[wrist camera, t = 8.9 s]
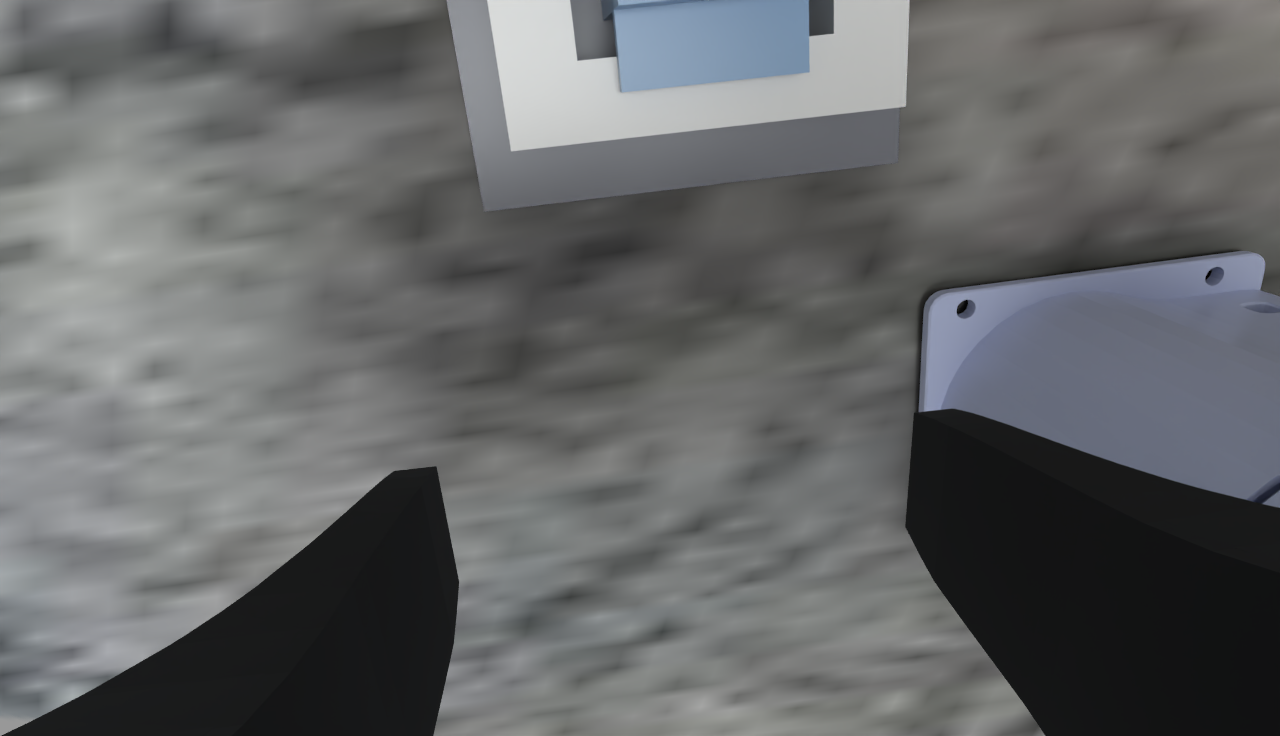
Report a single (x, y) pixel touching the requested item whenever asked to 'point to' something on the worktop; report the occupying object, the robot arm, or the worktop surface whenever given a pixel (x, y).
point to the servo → (707, 40)
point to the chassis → (666, 105)
